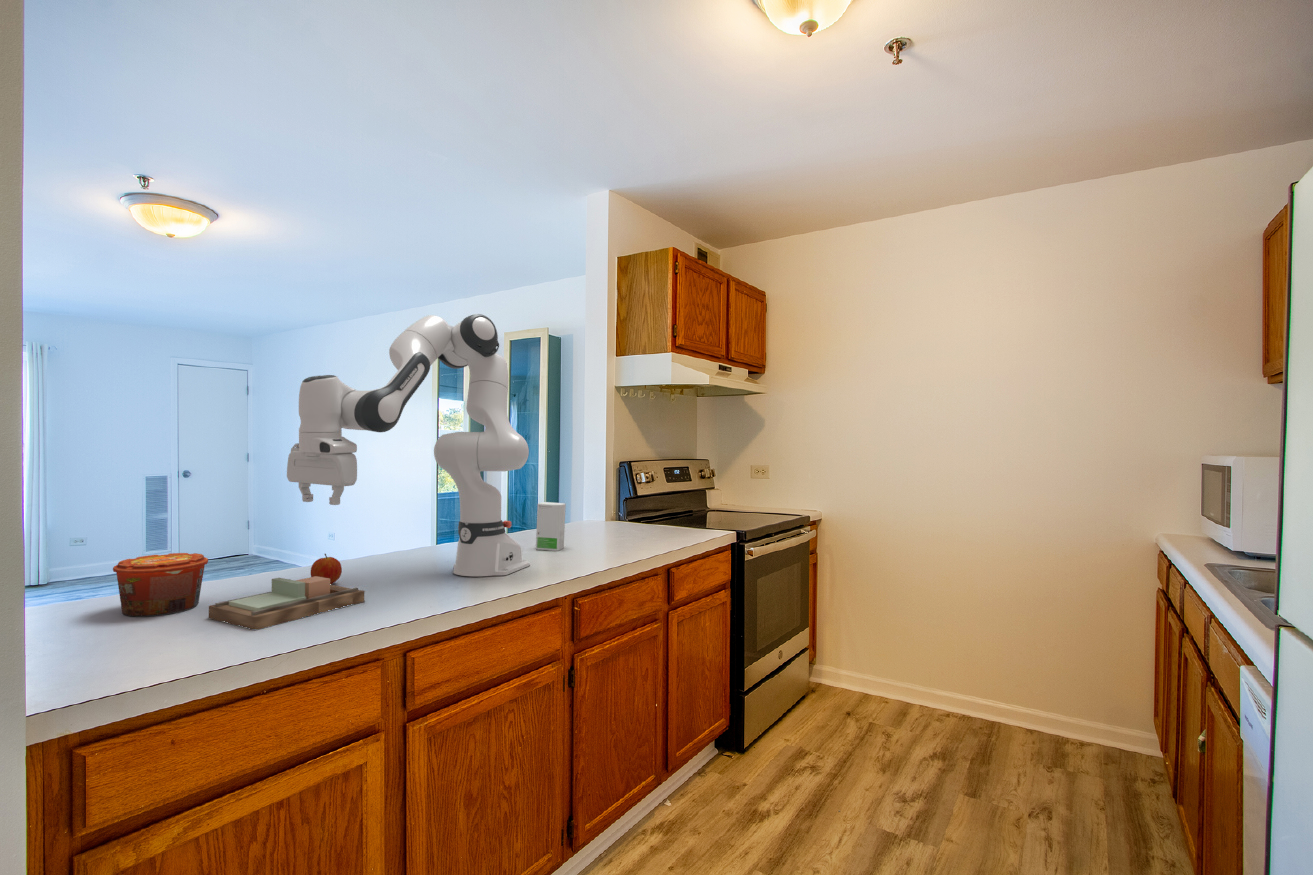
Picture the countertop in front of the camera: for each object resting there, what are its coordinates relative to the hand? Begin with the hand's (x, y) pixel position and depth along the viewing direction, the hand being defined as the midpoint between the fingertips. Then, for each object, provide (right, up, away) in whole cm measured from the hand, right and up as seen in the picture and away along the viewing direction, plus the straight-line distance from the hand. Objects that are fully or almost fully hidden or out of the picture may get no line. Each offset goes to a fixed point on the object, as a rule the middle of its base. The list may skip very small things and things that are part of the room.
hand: (321, 503), depth 146 cm
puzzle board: (0, -22, -12) cm, 25 cm away
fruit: (-4, -22, +10) cm, 25 cm away
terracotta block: (+2, -21, -8) cm, 23 cm away
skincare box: (+43, -23, +65) cm, 81 cm away
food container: (-27, -22, -13) cm, 37 cm away
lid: (-2, -19, -16) cm, 25 cm away
